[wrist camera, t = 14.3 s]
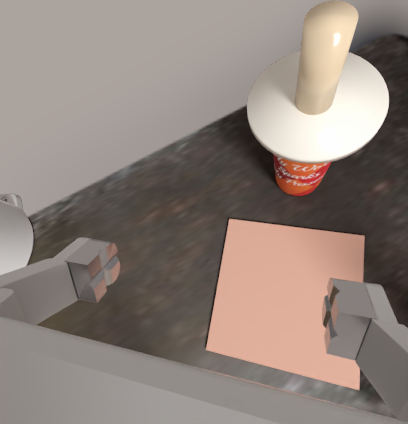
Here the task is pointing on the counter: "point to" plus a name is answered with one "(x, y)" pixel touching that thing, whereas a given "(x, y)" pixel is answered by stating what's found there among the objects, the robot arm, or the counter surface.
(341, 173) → the counter surface
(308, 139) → the lid
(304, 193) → the paper cup
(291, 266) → the mat
